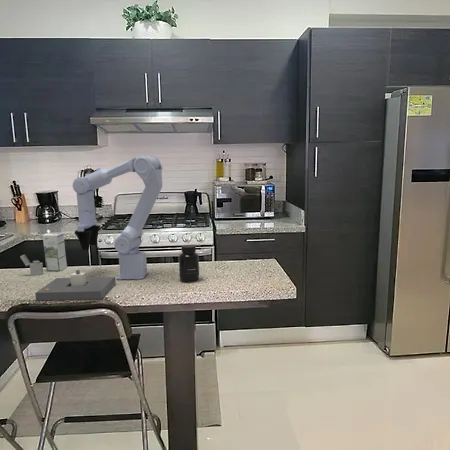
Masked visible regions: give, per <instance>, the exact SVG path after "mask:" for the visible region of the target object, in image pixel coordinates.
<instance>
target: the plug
mask: <svg viewBox="0 0 450 450" xmlns="http://www.w3.org/2000/svg"><path fill="white" fill-rule="evenodd" d="M86 277H87V273H86V272H81V270H80V269H76V270H75V272H72V273H71V274H70V276H69V278H71V287H73V286H85V285H86V284H87V281H86Z"/></svg>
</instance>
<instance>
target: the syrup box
mask: <svg viewBox="0 0 450 450" xmlns="http://www.w3.org/2000/svg"><path fill="white" fill-rule="evenodd" d="M64 234H65V233H64V232H63V231H62V232H58V231H57V232H52V231H51V232H46V233H44V234H42V240H43V252H44V259H45V269H46V272H61V271H63V270H65V269H67V267H68V264H67V256H66V255H67V254H66V248H65V247H66V246H65V245H66V243H65V236H64Z"/></svg>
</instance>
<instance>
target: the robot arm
mask: <svg viewBox="0 0 450 450" xmlns="http://www.w3.org/2000/svg"><path fill="white" fill-rule="evenodd" d="M95 170H96V171H93V172H91V173H85V174H84V175H85V176H77V177H76V178H75V179H74V180H73V182H72V188H73V191H74V192H75V193H76V200H77V213H78V214H77V215H78V222H75V225H76V226H77V227H76V228H77V230H74V234H75V236H76V237H77V239H78V241H79V244H80V247H81V249H82V251H89V250H90V246H96V245H97V242H98V236H99V235H98V234H99V231H100V229H101V225H98V219H96V208H95V198H94V197H95V191H96V190H97V189H100V188H102V187H105V186H107V185H109V184H111V183H112V180H113V179H114V178H117V177H119V176H122V175H125V174H127V173H136V174H137V175H138V176H139V177H140V179H141V180H142V182H143V184H144V186H145V187H144V189H143V191H142V193H141V196H140V198H139V200H138V202H137V204H136V206H135V209H134V211H133V213H132V215H131V217H130V220H129V222H128V224H127V225H126V227H125V228H124V229H123V231H121V233H120V235H119V236H118V237H116V238H115V240H114V243H113V245H114V248H115V250H116V252H117V253H118V262H119V263H118V266H119V275H118V276H117V277H116V280H139V279H140V280H141V279H142V280H143V279H144V278H145V277H146V275H147V274H148V267H147V266H148V265H147V253H146V252H144V251H140V249H139V247H140V246H141V244H142V236H143V233H144V232H143V229H144V226H145V225H146V222H147V220H148V218H149V215H150V214H151V212H152V209H153V207H154V205H155V203H156V201H157V199H158V197H159V194H160V192H161V190H162V188H163V175H162V172H163V165H162V163H161V161H160V159H159V158H158V157H157V156H154V155H150V156H145V155H140V156H138V157H133V158H130V159H128V160H126V161H124V162H122V163H120V164H118V165H115V166H113V167H111V168H109V169H106V168H104V167H102V168H101V167H98V168H96V169H95Z"/></svg>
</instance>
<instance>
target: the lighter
mask: <svg viewBox="0 0 450 450" xmlns="http://www.w3.org/2000/svg"><path fill="white" fill-rule="evenodd" d="M19 258H20V259H21V261H22V262H23V264H24V265H25V267H28V266H29V271H30V272H29V273H30V276H31V277H32V276H33V277H34V276H43V275H44V267H43V266H44V265H43V262H40V260H33V261H32V262H30V260H29V259H28V257H27V255H26V254H22V255H20V257H19Z"/></svg>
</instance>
